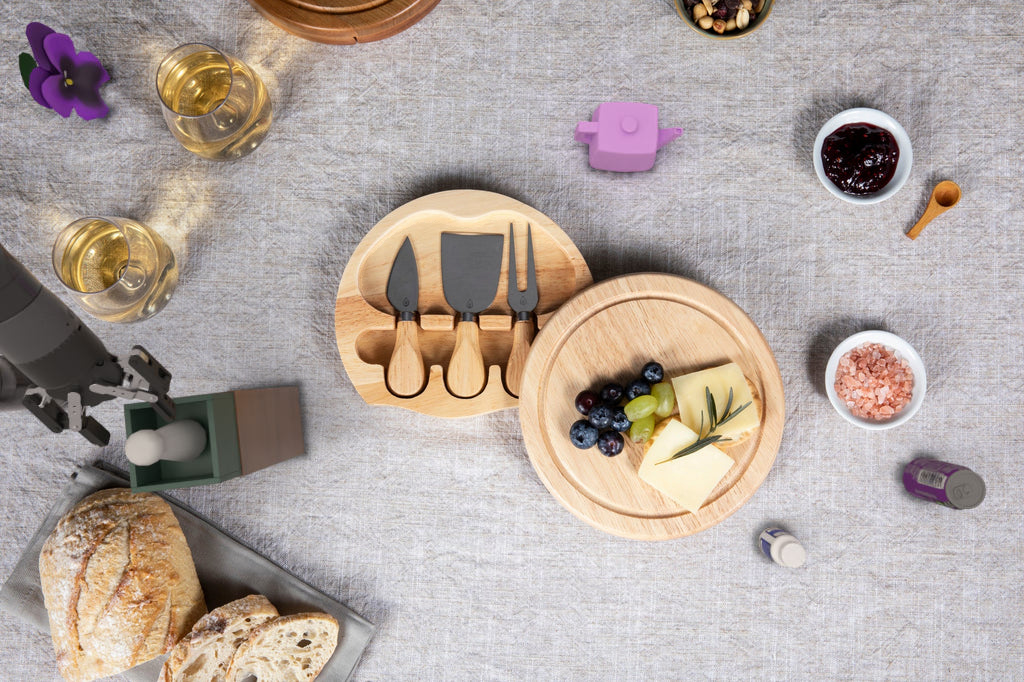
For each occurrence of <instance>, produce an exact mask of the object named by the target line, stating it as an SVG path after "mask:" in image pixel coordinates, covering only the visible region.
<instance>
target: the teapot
mask: <svg viewBox="0 0 1024 682" xmlns="http://www.w3.org/2000/svg"><path fill="white" fill-rule="evenodd" d="M683 135H684V128H683V127H679V126H674V127H668V128H659V107H658V106H657V105H655V104H652V103H644V102H635V101H634V102H633V101H632V102H631V101H607V102H602V103H600V104H599V105H598V106H597V107H596V108H595V109H594V111H593V113H592V116H591V119H590V121H586V120H580V121H578V122H577V125H576V126H575V129H574V137H573V140H574V141H575V142H578V143H579V142H580V143H584V144H586V145H588V150H589V151H588V159H589V160H588V163H589V165H590V167H591V168H592V169H596V170H601V171H602V170H603V171H607V172H608V171H609V172H618V173H619V172H620V173H621V172H622V173H624V172H625V173H627V172H629V173H630V172H644V171H645V172H646V171H648V170H651V169H652V168H653V167H654V164H655V163H656V162H655V161H656V158H657V151H658V150H659V149H661V148H663V147H665V146H667V145H669V144H670V143H671V142H673V141H674V140H676V139H679V138H680V137H681V136H683Z"/></svg>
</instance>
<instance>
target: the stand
mask: <svg viewBox="0 0 1024 682" xmlns="http://www.w3.org/2000/svg"><path fill="white" fill-rule="evenodd" d="M227 392H234V402H235V412H236V422H237V432H238V442H239V452H240V462H241V471H242V475H241V476H238V477H237V478H243V477H246V476H249V475H251V474H254V473H256V472H259V471H262V470H265V469H267V468H270V467H273V466H276V465H279V464H281V463H283V462H285V461H288V460H291V459H294V458H297V457H299V456H302V455H305V453H306V451H305V442H304V441H305V440H304V432H303V423H302V413H301V404H300V395H299V386H297V385H295V386H282V387H264V388H252V389H251V388H249V389H238V390H237V389H235V390H234V389H233V390H227V391H218V392H217V393H227ZM214 393H215V392H211V393H209V394H214ZM204 394H205V393H203V394H201V395H204ZM196 395H197V394H195V395H192V396H196ZM188 396H189V395H187V396H184V397H188ZM180 397H181V396H179V397H178V396H177V397H176V398H180ZM170 398H171V399H172V398H173V397H170Z"/></svg>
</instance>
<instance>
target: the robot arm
mask: <svg viewBox="0 0 1024 682" xmlns="http://www.w3.org/2000/svg"><path fill="white" fill-rule="evenodd" d="M172 379H173V374H172V373H171V372H170V371H169V370H168V369H167V368H166V367H165V366H164V365H163V364H161V363H160V361H158V360H157V359H156V358H155V357H154V355H152V354H151V353H150V352H149V351H148V350H147V349H146V348H145V347H144V346H142V345H140V344H135V345H133V346H132V348H131V351H129V352H127V353H125V354H123V355H120V356H118V355H115V354H113V353H111V352H109V350H108V349H107V347H106V346H105V344H104V343H103V341H102V340H101V339H100V338H99V337H98V336H97V334H95V332H93V331H92V330H91V328H90V327H88V325H87V324H86V323H84V321H82V319H81V318H80V317H79V316H78V315H77V314H76V313H75V312H74V310H72V309H71V308H70V307H69V305H67V304H66V303H65V302H64V301H63V300H62V299H61V298H60V297H59V296H58V295H56V294H55V293H54V291H52V290H50V289H49V288H48V287H46V286H45V285H44V284H43V283H42V282H41V281H40V280H39V279H38V278H37V277H36V276H35V275H34V274H33V273H32V272H31V271H30V270H29V269H28V268H27V267H26V266H25V265H24V264H23V263H22V262H21V261H20V260H19V259H18V258H17V257H16V256H15V255H13V254H12V253H11V252H10V251H9V250H8V249H7V247H5V245H4V244H3V243H2V242H1V241H0V413H6V412H20V411H22V412H23V411H29V412H30V413H31V414H32V415H33V416H34V417H35V418H37V420H39V421H40V422H41V423H42V424H43V425H44V426H45V427H46V428H47V429H48V430H49V431H50V432H52V433H54V434H61V433H63V431H65V430H71V431H73V432H77V433H79V434H80V435H81V436H82V437H83V438H84V439H85V440H87V441H88V442H90V444H92V445H94V446H98V447H99V448H104V447H106V446H108V445H109V443H110V440H111V437H112V436H111V432H110V430H108V429H107V428H106V427H105V426H104V425H102V424H101V422H100V421H98V420H97V419H96V418H95V417H93V415H91V414H89V415H87V407H90V408H94V407H97V406H99V405H100V404H102V403H103V402H110V401H112V400H115V399H117V398H121V399H124V400H129V401H133V400H134V399H137V400H141V401H143V402H147V401H148V402H150V406H151V407H152V408H153V409H154V410H155V411H156V412H157V413H158V414H159V415H160V416H161V417H162V418H163V419H164V420H165V421H166V422H171V421H174V420H175V416H176V410H177V405H176V403H175V402H174V401H173V400H172V399H171V398H172V397H170V395H169V394H168V393H169V392H170V389H171V387H170V386H171V384H172V383H171V382H172ZM124 381H127V382H128V383H129V385H128V387H125V386H124ZM66 404H67V411H66V410H65V409H64V408H63V406H65V405H66Z"/></svg>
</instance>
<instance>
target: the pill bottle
mask: <svg viewBox="0 0 1024 682" xmlns="http://www.w3.org/2000/svg"><path fill="white" fill-rule="evenodd" d="M758 546H759V550H760V551H761V552H762V554H763V555H765V556H766V557H767V558H769V559H770V560H772V561H773V562H774V563H775V564H777V565H778V566H781V567H783V568H793V569H797V568H800V567H802V566H803V565H804V564H805V562H806V559H807V552H806V550H805V547H803V546H802V543H801V542H800V540H799V539H798V538H796V537H795V536H793V534H790V533H788V532H787V531H785V530H784V529H782V528H779V527H777V526H776V527H775V526H772V527H771V526H770V527H768V528H766V529H764V530H763V531H762V532H761V533H760V535H759V537H758Z"/></svg>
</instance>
